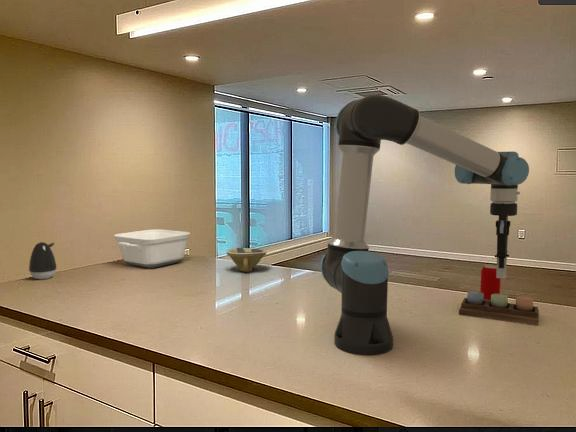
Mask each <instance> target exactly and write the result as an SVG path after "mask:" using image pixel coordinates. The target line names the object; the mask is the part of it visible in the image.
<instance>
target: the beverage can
mask: <svg viewBox="0 0 576 432" xmlns="http://www.w3.org/2000/svg"><path fill="white" fill-rule="evenodd" d="M496 273H497V265H491V264H485V265H484V266H482V267H481V270H480V291H479V292H482V293H484V298H483V300H487V301H491V294H501V280H502V278H496Z"/></svg>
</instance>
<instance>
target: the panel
mask: <svg viewBox="0 0 576 432" xmlns="http://www.w3.org/2000/svg"><path fill="white" fill-rule="evenodd" d="M515 305H516V303H509V302H508V306H507V307H495V306H492V305H491V301H487V300H483V304H472V303H468V302H467V297H464V298H463V300H462V301H461V303H460V307H459V309H458V315H460V316H467V317H474V318H481V319H488V320H496V321H503V322H509V321H510V322H512V323H516V322H519V323H518V324H524V323H526V324H525V325H531V324H534V325H533V326H539V322H540V321H539V319H540V317H539V315H540V312H539V311H540V310H539V307H538V306H534V305H533V310H530V311H526V310H520V309H517V308H515Z"/></svg>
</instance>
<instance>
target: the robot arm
mask: <svg viewBox="0 0 576 432" xmlns="http://www.w3.org/2000/svg"><path fill="white" fill-rule="evenodd" d="M335 130H336V133H337V135H338V136H339V137H338V147H337V148H338V149H339V150H340V151H341V153H342V158H341V168H340V178H339V185H338V197H337V205H336V214H335V215H336V216H335V223H334V224H335V225H334V234H333V237H332V238H331V239H330V240H329V241H328V242H327V249H326V253H324V255H323V256H322V259H321V262H320V271H321V274H322V276H323V277H322V278H323V279H324V280H325V282H326V283H327V284H328V285H329V286H330V287H331V288H333V289H335V290H336V291H338V292H339V293H341V313H340V317H339V319H338V322H337V325H336V329H335V331H334V335H333V337H334V338H333V339H334V345H335V346H336V347H337V348H339V350H342V351H344V352H347V353H352V354H358V355H379V354H384V353H388V352H389V351H391V350H392V349H393V347H394V335H393V332H392V329H391V325H390V321H389V318H388V290H389V289H388V288H389V287H388V286H389V285H388V283H389V275H390V274H389V266H388V261H387V259H386V258H385V256H383V255H381V254H379V253H377V252H371V251H369V250H370V249H369V248H370V246H369V245H368V243H366V241H365V235H366V227H367V217H368V208H369V201H370V200H369V199H370V198H369V197H370V191H371V183H372V174H373V173H372V171H373V163H374V156H375V155H376V154H377V153H379V151H380V150H381V143H382V142H381V141H390V142H393V143H396V144H398V145H400V146H404V145H407V144H408V145H410V146H412V147H415V148H417V149H419V150H421V151H424V152H426V153H428V154H431V155H433V156H435V157H438V158H440V159H441V160H444V161H447V162H449V163H451V164H454V165H455V167H454V177H455V180H456V181H457V182H458V183H459V184H463V185H464V184H466V185H473V184H475V185H477V184H478V185H479V184H480V185H490V196H489V197H490V199H489V200H490V201H491V203H490V207H489V212H490V215H491V216H498V219H497V220H496V221H495V227H496V228H495V230H496V231H495V232H496V234H495V235H496V237H497V238H496V254H495V255H494V258H496V266H497V273H496V278H501V280H502V279H504V280H506V279H507V267H508V266H507V265H508V264H507V262H508V258H509V257H510V254H508V239H509V235H510V227H511V221H510V220H509V216H510V217H513V216H514V217H515V216H517V215H518V203H517V202H518V196H519V195H521V192H520V191H518V190H519V189H518V188H519V185H521V184H523V183H524V182H526V180H527V179H528V176H529V173H530V166H529V164H528V162H527V160H526V159H524V158H523V157H520V155H519V153H518V152H517V151H497V150H494V149H492V148H489V147H488V146H486V145H483V144H481V143H479V142H477V141H475V140H473V139H471V138H468V137H467V136H464V135H462V134H460V133H458V132H456V131H453V130H452V129H449V128H447V127H445V126H442V125H440V124H438V123H436V122H434V121H432V120H430V119H428V118H426V117H424V116H421V114H420V111H419V109H416V108H415V107H413V106H410V105H408V104H406V103H403V102H401V101H399V100H397V99H394V98H392V97H389V96H387V95H386V96H385V95H382V94H370V95H366V96H364V97H361V98H359V99H354V100H352V101H350V102H348V103H346V104H345V105H344V106H343V107H342V108H341V109H340V110H339V112H338V114H337V115H336V119H335Z"/></svg>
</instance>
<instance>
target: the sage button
mask: <svg viewBox="0 0 576 432" xmlns="http://www.w3.org/2000/svg"><path fill="white" fill-rule="evenodd" d="M508 303H509V296H508V295H506V294H503V293H500V294H491V305H492V306H495V307H507V306H508Z"/></svg>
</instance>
